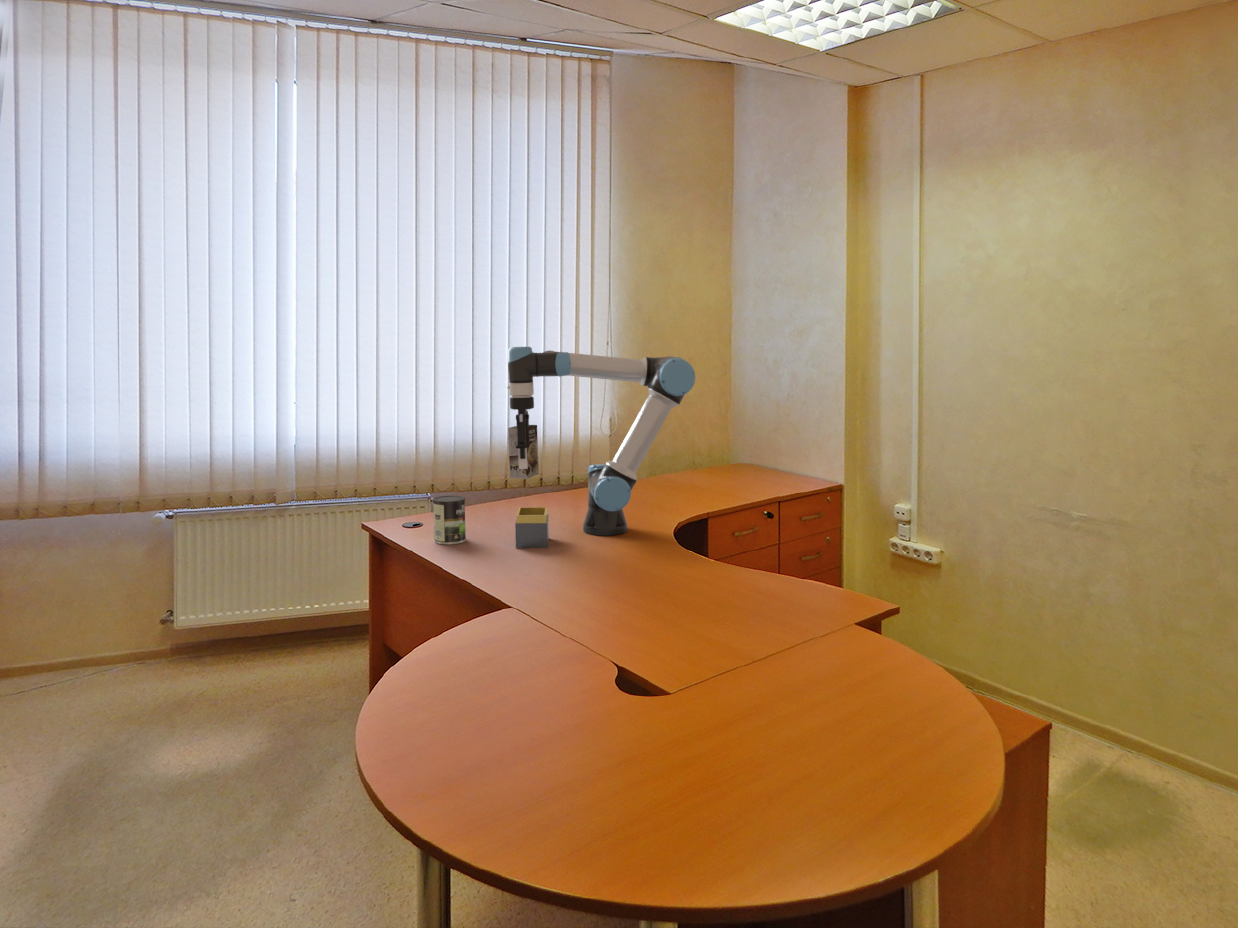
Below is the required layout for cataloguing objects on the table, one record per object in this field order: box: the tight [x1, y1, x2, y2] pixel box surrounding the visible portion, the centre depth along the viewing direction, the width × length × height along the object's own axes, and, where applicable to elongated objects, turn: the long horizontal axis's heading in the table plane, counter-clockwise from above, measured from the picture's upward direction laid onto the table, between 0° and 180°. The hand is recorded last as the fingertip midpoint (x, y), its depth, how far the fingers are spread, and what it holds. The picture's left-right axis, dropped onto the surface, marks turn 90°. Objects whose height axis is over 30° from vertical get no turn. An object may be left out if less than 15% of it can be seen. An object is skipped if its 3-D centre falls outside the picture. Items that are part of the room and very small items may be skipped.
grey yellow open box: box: [514, 506, 550, 549], centre depth 272 cm, size 10×12×10 cm
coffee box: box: [507, 424, 540, 480], centre depth 268 cm, size 9×6×16 cm
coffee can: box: [432, 495, 467, 545], centre depth 274 cm, size 10×10×14 cm
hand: (524, 465), depth 269 cm, fingers closed on coffee box, 10 cm apart
